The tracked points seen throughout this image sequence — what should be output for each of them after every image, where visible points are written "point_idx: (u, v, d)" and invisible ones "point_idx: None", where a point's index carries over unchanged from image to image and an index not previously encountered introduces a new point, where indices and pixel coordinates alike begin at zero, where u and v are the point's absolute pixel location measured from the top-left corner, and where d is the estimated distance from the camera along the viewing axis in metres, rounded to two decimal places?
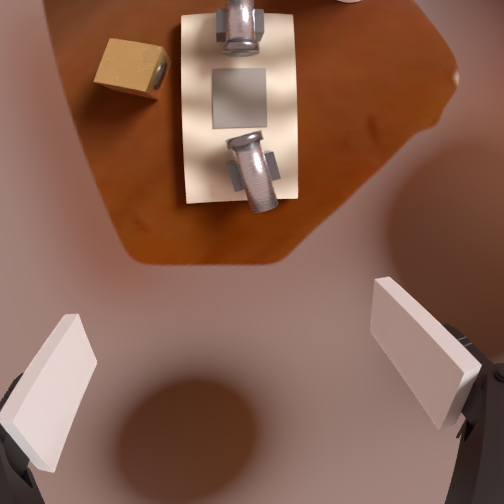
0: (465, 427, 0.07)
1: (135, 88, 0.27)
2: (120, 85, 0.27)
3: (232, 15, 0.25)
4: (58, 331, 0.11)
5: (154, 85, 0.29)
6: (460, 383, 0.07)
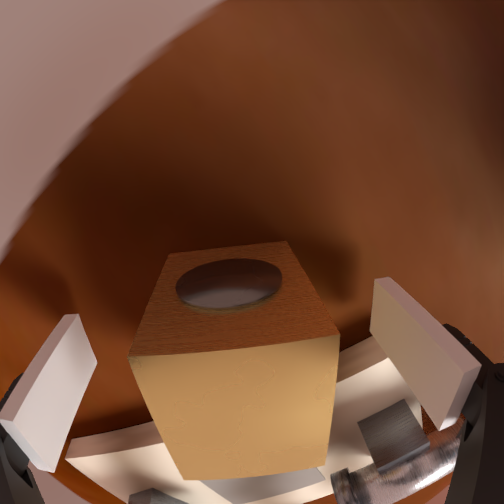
0: (465, 427, 0.07)
1: (178, 464, 0.09)
2: (164, 436, 0.08)
3: (415, 481, 0.11)
4: (58, 330, 0.11)
5: None
6: (460, 383, 0.07)
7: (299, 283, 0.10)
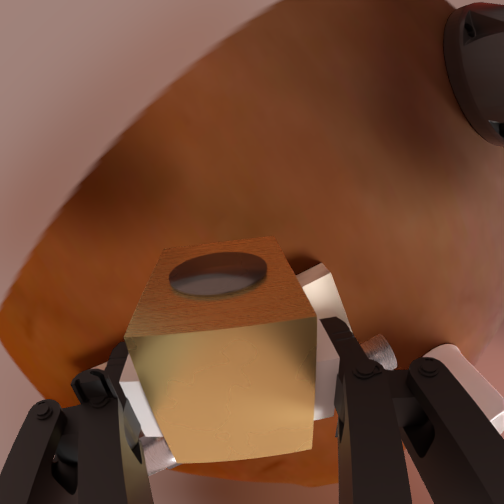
0: (339, 427, 0.08)
1: (171, 446, 0.09)
2: (158, 416, 0.09)
3: None
4: None
5: None
6: None
7: (282, 273, 0.11)
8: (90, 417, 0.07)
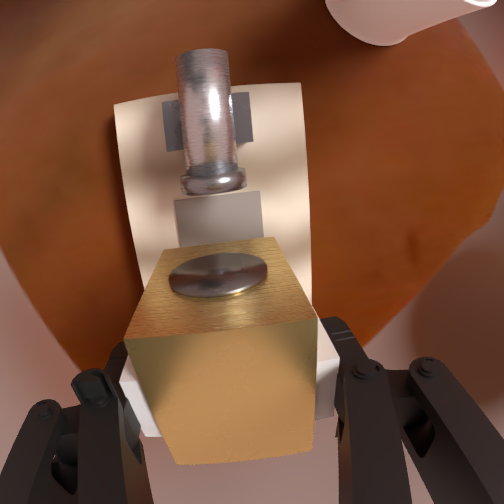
0: (339, 427, 0.08)
1: (171, 447, 0.09)
2: (158, 417, 0.09)
3: (190, 119, 0.16)
4: None
5: None
6: None
7: (283, 274, 0.10)
8: (90, 417, 0.07)
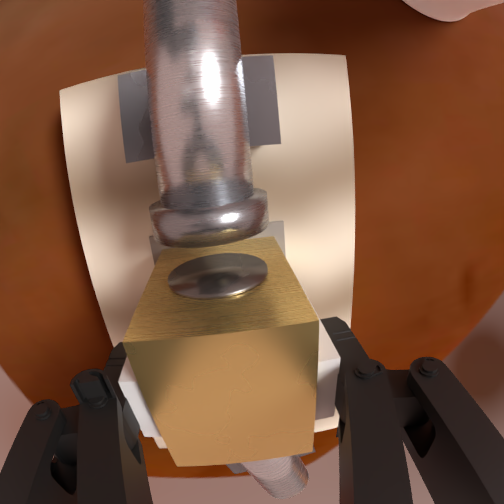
0: (339, 427, 0.08)
1: (171, 449, 0.09)
2: (157, 420, 0.09)
3: (163, 102, 0.08)
4: None
5: None
6: None
7: (283, 275, 0.10)
8: (89, 417, 0.07)
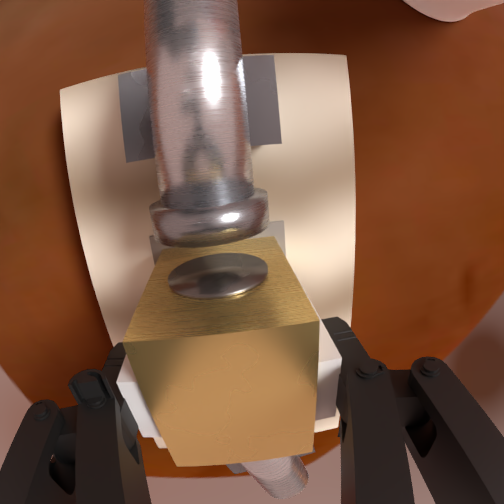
0: (341, 427, 0.08)
1: (171, 450, 0.09)
2: (157, 420, 0.09)
3: (164, 101, 0.08)
4: None
5: None
6: None
7: (284, 275, 0.10)
8: (87, 417, 0.07)
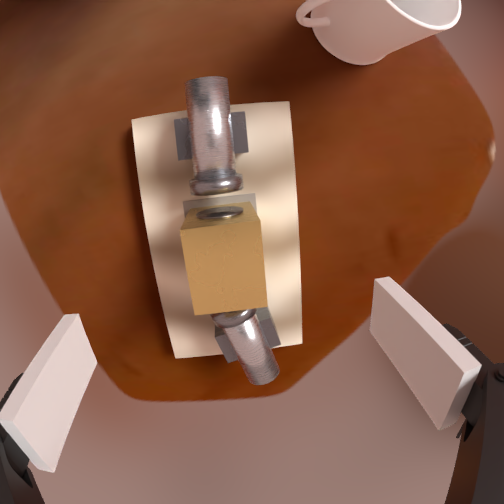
0: (465, 427, 0.07)
1: (193, 300, 0.21)
2: (189, 276, 0.20)
3: (197, 134, 0.20)
4: (58, 330, 0.11)
5: None
6: (460, 383, 0.07)
7: (250, 211, 0.22)
8: None
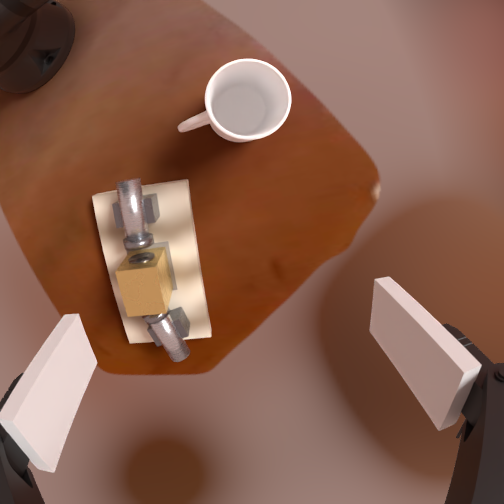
0: (465, 427, 0.07)
1: (126, 308, 0.36)
2: (122, 295, 0.35)
3: (123, 215, 0.35)
4: (58, 330, 0.11)
5: None
6: (460, 383, 0.07)
7: (157, 258, 0.37)
8: None
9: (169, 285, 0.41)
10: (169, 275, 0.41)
